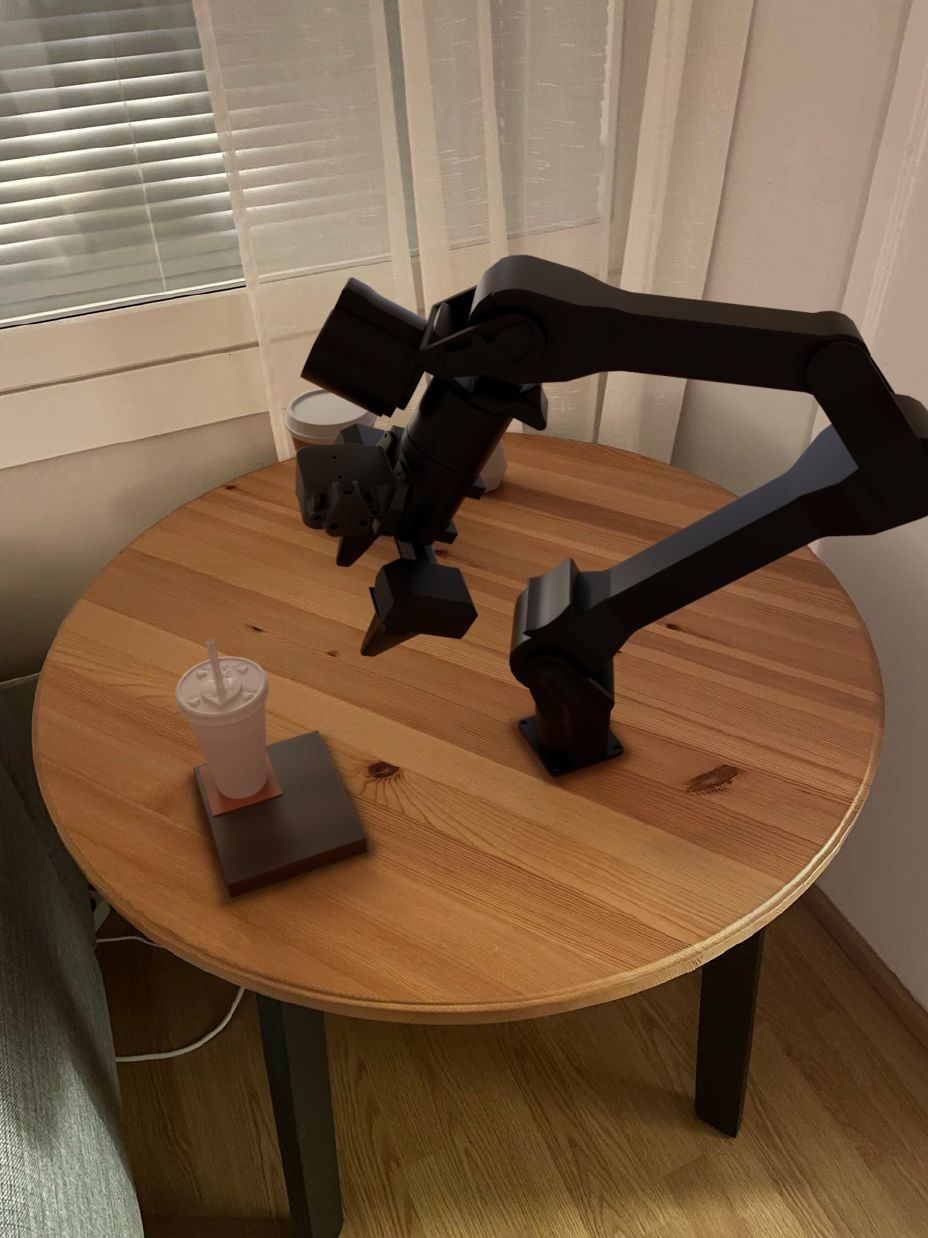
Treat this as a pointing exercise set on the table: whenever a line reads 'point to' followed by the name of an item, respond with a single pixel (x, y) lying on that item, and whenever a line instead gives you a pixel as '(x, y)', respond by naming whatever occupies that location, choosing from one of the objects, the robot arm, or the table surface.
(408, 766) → the table surface
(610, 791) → the table surface
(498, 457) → the salt shaker
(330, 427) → the disposable coffee cup
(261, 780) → the smoothie
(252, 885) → the board
